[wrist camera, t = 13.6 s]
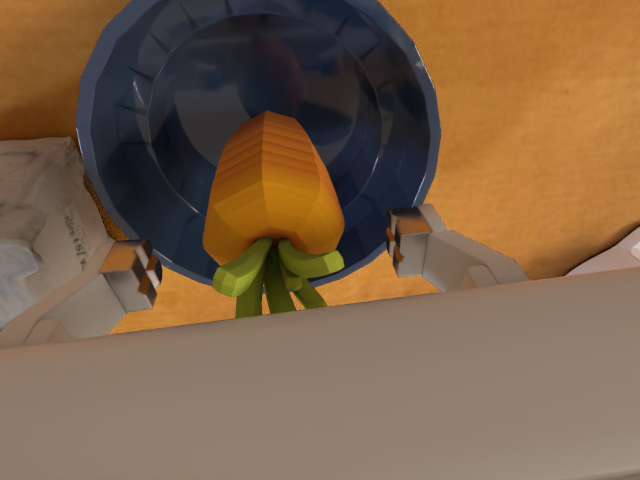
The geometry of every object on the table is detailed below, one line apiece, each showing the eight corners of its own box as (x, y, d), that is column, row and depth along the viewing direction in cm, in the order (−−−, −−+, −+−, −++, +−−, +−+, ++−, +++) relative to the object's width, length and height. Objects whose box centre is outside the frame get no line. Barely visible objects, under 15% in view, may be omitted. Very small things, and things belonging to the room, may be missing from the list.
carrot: (215, 80, 19) (133, 294, 7) (311, 70, 19) (380, 262, 8) (236, 167, 22) (202, 414, 10) (319, 157, 22) (375, 389, 11)
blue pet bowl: (362, -107, 16) (406, -132, 11) (417, 182, 25) (456, 242, 20) (58, 29, 17) (-27, 64, 12) (215, 252, 27) (203, 323, 22)
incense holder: (148, 263, 27) (97, 402, 19) (22, 267, 26) (-91, 415, 18) (110, 132, 21) (9, 253, 13) (-58, 129, 20) (-286, 259, 11)
